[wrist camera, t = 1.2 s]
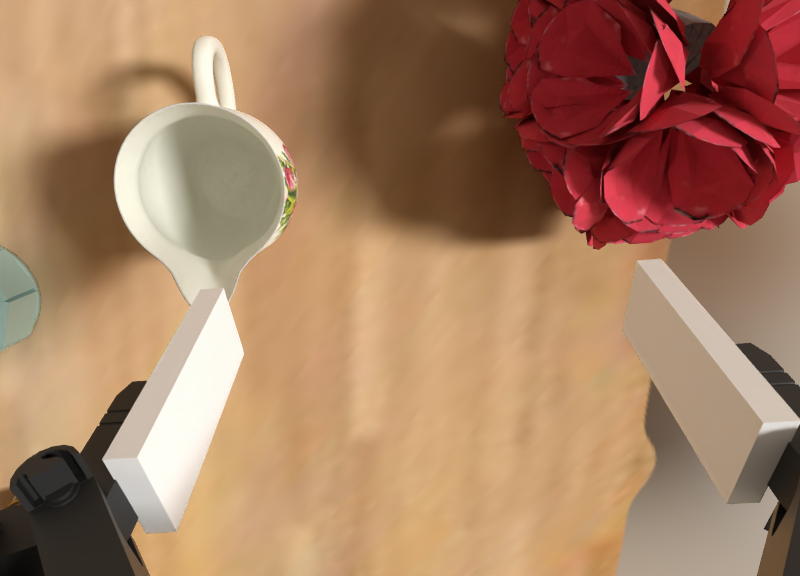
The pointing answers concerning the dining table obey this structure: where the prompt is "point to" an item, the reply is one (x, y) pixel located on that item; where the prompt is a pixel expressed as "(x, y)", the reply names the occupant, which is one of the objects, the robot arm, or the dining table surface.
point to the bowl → (16, 299)
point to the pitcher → (205, 181)
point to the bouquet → (656, 112)
